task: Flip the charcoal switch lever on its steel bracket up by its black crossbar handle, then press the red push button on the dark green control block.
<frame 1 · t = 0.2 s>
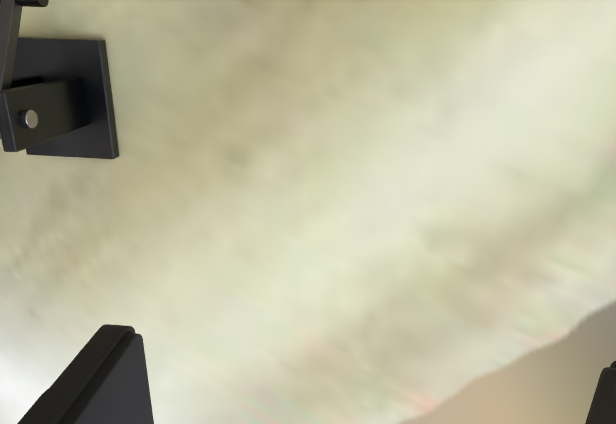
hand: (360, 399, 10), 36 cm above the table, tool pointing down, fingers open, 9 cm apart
switch bracket: (67, 98, 45), on the table
switch lever: (3, 59, 37), point 8 cm above the table, hinge at -28.0°
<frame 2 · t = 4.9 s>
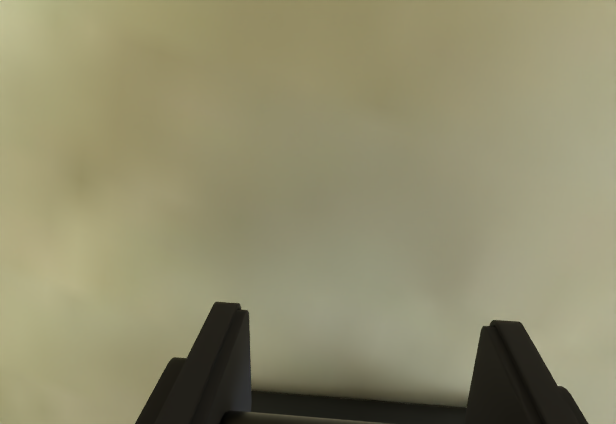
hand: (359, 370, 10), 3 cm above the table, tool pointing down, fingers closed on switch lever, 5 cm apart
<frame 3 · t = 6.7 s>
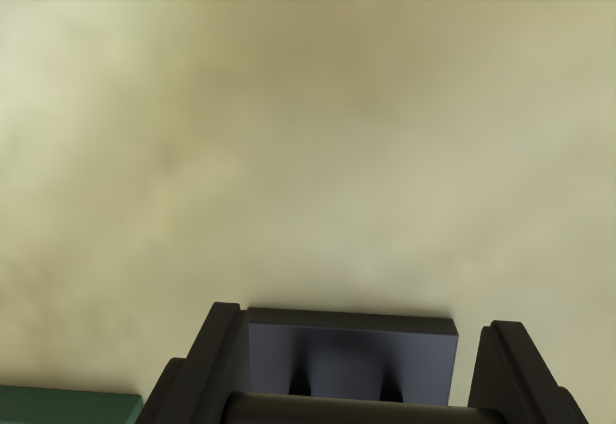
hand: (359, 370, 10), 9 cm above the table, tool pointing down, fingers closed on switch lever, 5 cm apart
switch bracket: (343, 409, 23), on the table
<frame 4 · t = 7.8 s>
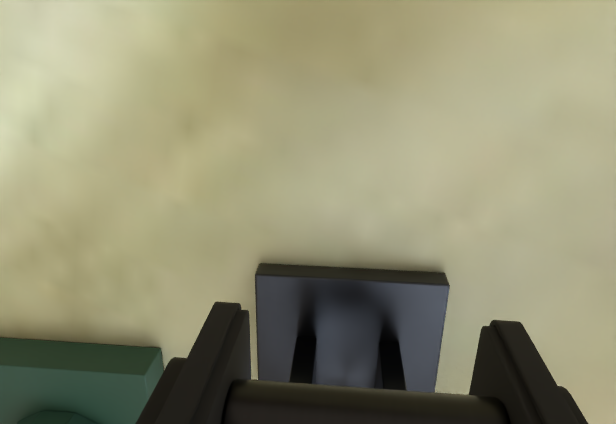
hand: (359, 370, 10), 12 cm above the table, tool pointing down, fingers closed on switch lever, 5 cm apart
switch bracket: (345, 359, 25), on the table
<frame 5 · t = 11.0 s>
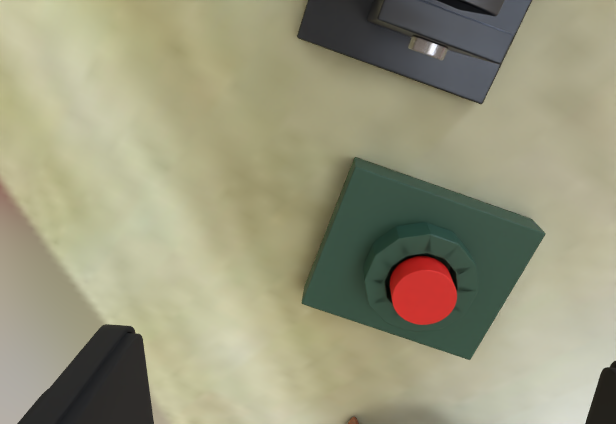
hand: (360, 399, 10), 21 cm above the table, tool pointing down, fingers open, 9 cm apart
red push button: (422, 290, 27), point 4 cm above the table, slide at 0.1 cm
button block: (412, 254, 31), on the table
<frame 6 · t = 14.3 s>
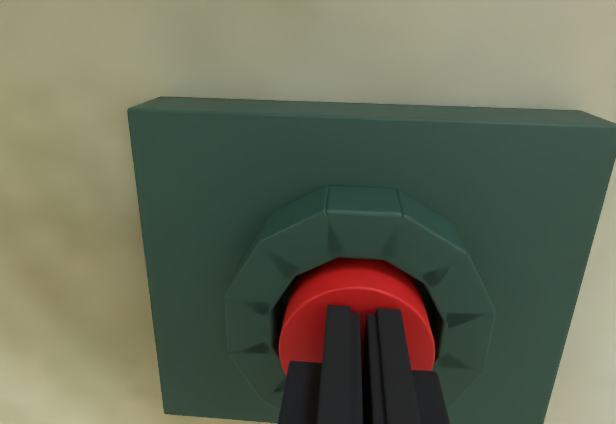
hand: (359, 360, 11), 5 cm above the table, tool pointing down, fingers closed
red push button: (355, 332, 12), point 4 cm above the table, slide at -0.5 cm, touching gripper
button block: (354, 259, 15), on the table
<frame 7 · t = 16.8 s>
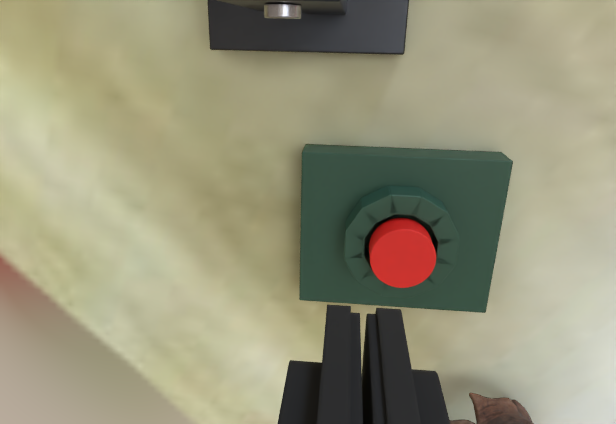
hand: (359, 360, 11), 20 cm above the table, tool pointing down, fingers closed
red push button: (401, 252, 27), point 4 cm above the table, slide at 0.1 cm
button block: (395, 222, 31), on the table
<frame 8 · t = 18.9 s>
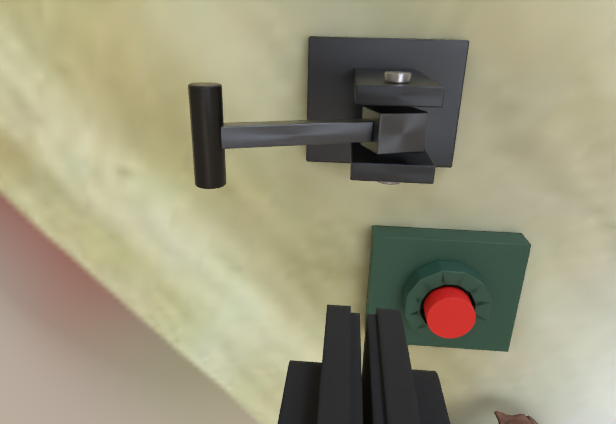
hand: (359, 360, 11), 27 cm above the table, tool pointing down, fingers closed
switch bracket: (381, 102, 35), on the table
red push button: (448, 312, 36), point 4 cm above the table, slide at 0.1 cm
switch lever: (311, 132, 25), point 12 cm above the table, hinge at 21.0°
button block: (438, 282, 40), on the table
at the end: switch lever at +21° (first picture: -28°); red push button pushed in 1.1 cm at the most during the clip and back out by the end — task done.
